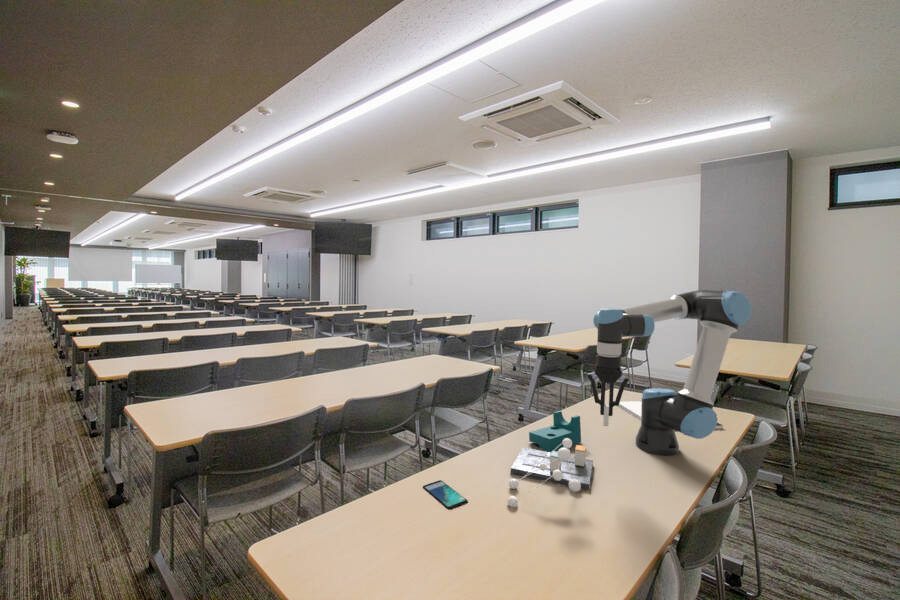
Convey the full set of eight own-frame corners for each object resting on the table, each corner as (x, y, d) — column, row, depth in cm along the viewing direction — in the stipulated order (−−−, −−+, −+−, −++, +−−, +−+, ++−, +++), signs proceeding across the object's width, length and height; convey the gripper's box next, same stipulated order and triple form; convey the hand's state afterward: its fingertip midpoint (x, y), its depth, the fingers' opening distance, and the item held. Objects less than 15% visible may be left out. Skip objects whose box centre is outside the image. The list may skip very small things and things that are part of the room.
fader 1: (560, 468, 132) (561, 452, 132) (559, 473, 129) (559, 457, 128) (551, 466, 134) (552, 450, 133) (549, 471, 130) (550, 455, 130)
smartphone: (440, 479, 128) (469, 501, 115) (440, 481, 128) (469, 503, 115) (421, 485, 124) (449, 509, 111) (421, 488, 124) (449, 511, 111)
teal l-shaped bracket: (560, 435, 168) (559, 410, 168) (581, 442, 159) (580, 416, 159) (529, 444, 158) (528, 418, 158) (550, 452, 149) (549, 424, 149)
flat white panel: (722, 424, 176) (658, 426, 173) (722, 430, 177) (657, 432, 173) (670, 400, 211) (616, 401, 208) (670, 405, 211) (615, 406, 208)
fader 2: (585, 461, 137) (585, 446, 137) (584, 466, 134) (584, 450, 133) (576, 459, 139) (576, 444, 138) (574, 464, 135) (575, 449, 135)
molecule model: (589, 509, 117) (599, 461, 111) (508, 516, 114) (513, 468, 108) (570, 472, 130) (578, 428, 124) (496, 478, 127) (500, 433, 121)
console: (592, 465, 139) (593, 460, 139) (589, 490, 123) (589, 484, 123) (522, 452, 149) (522, 447, 149) (510, 473, 133) (510, 467, 133)
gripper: (630, 354, 132) (627, 424, 133) (588, 351, 137) (586, 418, 138) (630, 358, 125) (627, 432, 126) (587, 355, 130) (584, 425, 131)
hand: (605, 424), depth 132 cm, fingers closed
